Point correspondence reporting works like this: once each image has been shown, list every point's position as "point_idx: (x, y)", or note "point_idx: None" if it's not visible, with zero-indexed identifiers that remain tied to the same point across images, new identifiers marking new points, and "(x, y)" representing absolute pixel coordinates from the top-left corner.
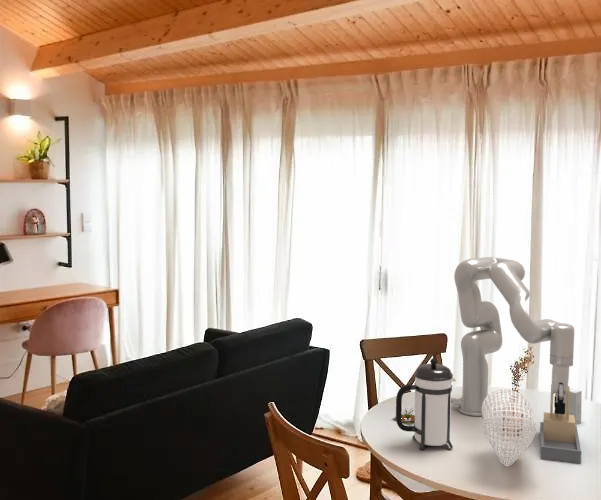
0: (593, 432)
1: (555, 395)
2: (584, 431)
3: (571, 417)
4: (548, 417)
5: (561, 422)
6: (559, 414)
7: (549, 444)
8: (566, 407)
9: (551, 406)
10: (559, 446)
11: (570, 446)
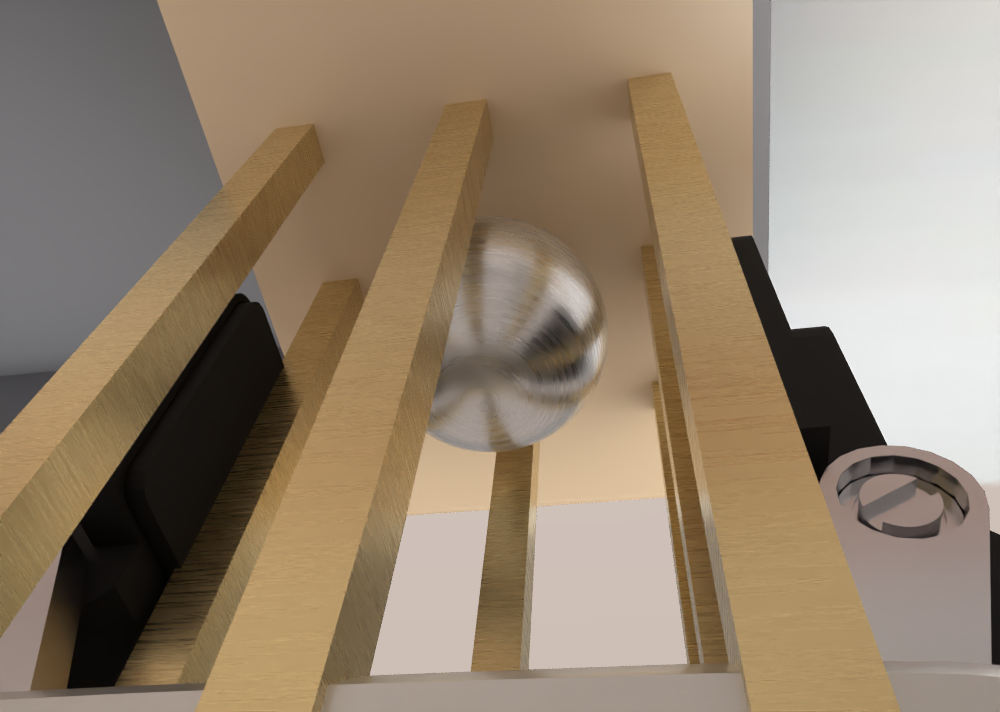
0: (964, 467)
1: (829, 472)
2: (979, 385)
3: (602, 462)
4: (377, 70)
5: (279, 325)
6: (295, 360)
7: (143, 50)
8: (670, 507)
9: (156, 284)
10: (164, 184)
11: (255, 301)
